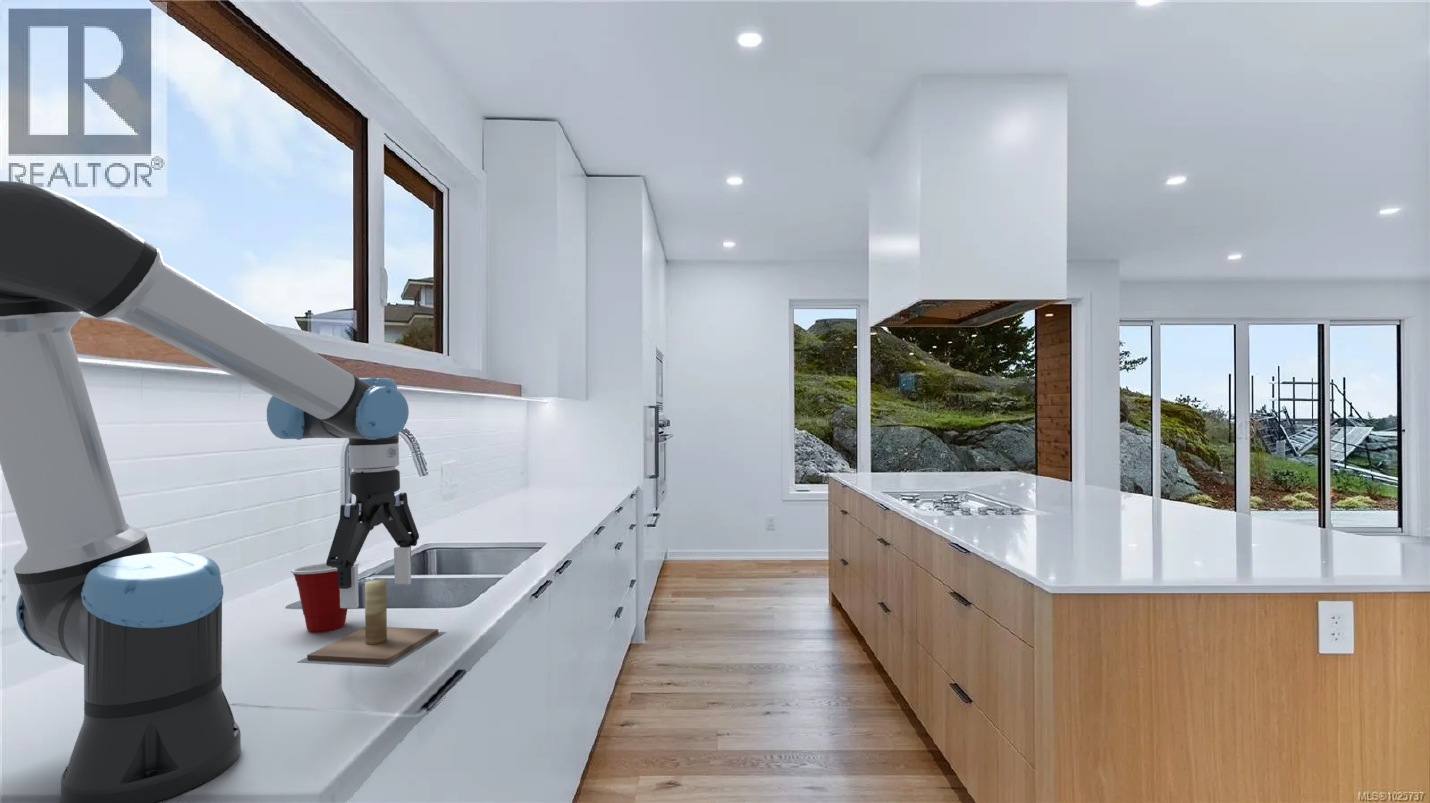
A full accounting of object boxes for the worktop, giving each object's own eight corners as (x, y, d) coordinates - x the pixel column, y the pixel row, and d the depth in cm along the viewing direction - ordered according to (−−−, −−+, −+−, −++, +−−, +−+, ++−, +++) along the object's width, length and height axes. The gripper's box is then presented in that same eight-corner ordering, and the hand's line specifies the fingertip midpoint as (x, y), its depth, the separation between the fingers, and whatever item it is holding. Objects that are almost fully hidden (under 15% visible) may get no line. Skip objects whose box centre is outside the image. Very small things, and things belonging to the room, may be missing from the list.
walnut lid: (387, 663, 102) (386, 594, 103) (307, 659, 105) (306, 592, 105) (438, 633, 116) (437, 572, 116) (366, 630, 118) (366, 570, 119)
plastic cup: (357, 616, 128) (357, 554, 128) (362, 631, 119) (361, 565, 119) (291, 626, 122) (291, 562, 123) (290, 643, 113) (290, 574, 113)
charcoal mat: (388, 669, 101) (388, 666, 101) (296, 664, 104) (296, 662, 104) (446, 634, 117) (446, 631, 117) (365, 630, 120) (365, 628, 120)
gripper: (342, 478, 98) (345, 620, 98) (437, 462, 123) (440, 575, 123) (297, 478, 99) (300, 618, 99) (400, 462, 124) (403, 574, 124)
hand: (377, 595), depth 111 cm, fingers open, 13 cm apart
